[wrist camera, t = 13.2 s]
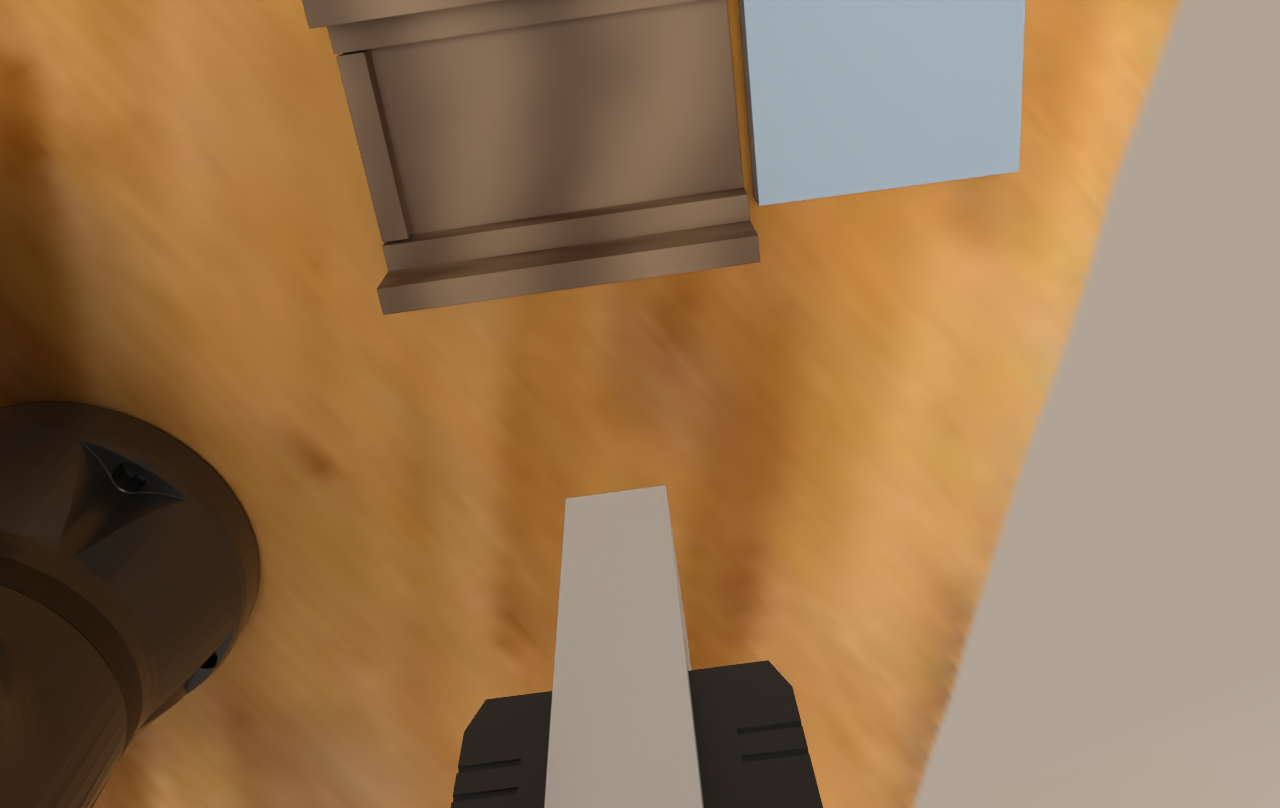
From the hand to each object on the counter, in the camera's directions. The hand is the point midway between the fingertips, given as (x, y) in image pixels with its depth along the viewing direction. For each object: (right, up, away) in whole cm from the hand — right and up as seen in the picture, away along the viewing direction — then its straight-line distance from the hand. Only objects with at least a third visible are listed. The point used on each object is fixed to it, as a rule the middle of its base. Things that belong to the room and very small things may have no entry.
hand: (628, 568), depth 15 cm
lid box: (-3, +13, +23) cm, 27 cm away
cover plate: (+9, +15, +23) cm, 29 cm away
